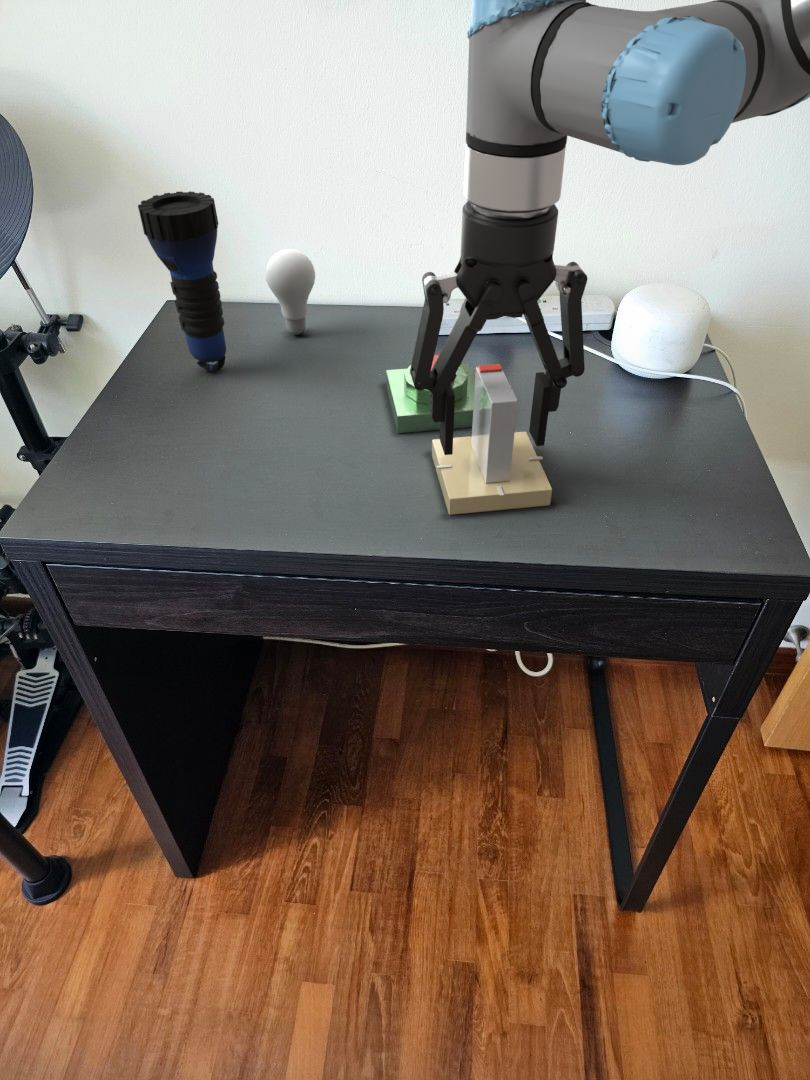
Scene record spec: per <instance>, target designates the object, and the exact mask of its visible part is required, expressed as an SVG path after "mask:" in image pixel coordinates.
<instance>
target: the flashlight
mask: <svg viewBox="0 0 810 1080" xmlns="http://www.w3.org/2000/svg"><path fill="white" fill-rule="evenodd" d="M137 208H138V212H139V216H140V222H141V225H142V231H143V234H144V235H145V236H146V238H147V240H148V243H149V245H150V246H151V248H152V250H153V251H154V253H155V255H156V256H157V258H158V259H159V260H160V261H161V263H162V264H163V265H164V266H165V267H166V269H167V270H168V271H169V273H170V274H169V275H170V278H171V281H170V282H169V283H170V286H171V291H172V292H171V293H172V294H173V295H174V296H175V299H174V304H175V309H176V312H177V313H178V314H179V316H178V321H179V326H180V328H181V330H182V331H183V332H184V336H185V340H186V343H187V347H188V351H189V353H190V355H191V356H192V358H194V359H195V360H197V362H196V364H197V365H198V366H199V367H200V368H201V369H203V370H205V371H208V372H218V371H220V370H222V369H223V367H224V366H225V363H226V353H227V345H226V344H227V343H226V338H225V333H224V331H225V330H224V326H225V318H224V317H223V315H224V311H223V303H222V300H221V292H220V290H219V289H220V285H219V282H218V280H217V279H218V273H217V272H216V271H215V270H214V264H213V263H214V258H215V251H216V247H217V240H218V228H219V219H218V214H217V208H216V202H215V198H214V197H213V196H211V194H205V193H204V192H195V191H190V190H189V191H186V192H185V191H176V192H171V193H170V192H165V193H163V194H161V195H158V194H155V195H152V197H150V198H148V199H146V200H144V199H143V200H141V201H140V204H138V205H137ZM210 363H214V364H210Z"/></svg>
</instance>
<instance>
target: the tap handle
mask: <svg viewBox="0 0 810 1080" xmlns="http://www.w3.org/2000/svg"><path fill="white" fill-rule="evenodd" d="M474 375H475V391H474V408H473V424H472V427H471V436H472V441H471V446H472V448H473V451H474V454H475V456H476V459H477V462H478V464H479V467H480V470H481V472H482V475H483V477H484V480H485V483H494V482H504V481H510V472H511V463H512V453H513V443H514V433H515V432H516V422H517V413H518V403H519V401H518V398H517V396H516V394H515V393H514V392H515V391H514V390H513V387H512V386H511V384H510V382H509V380H508V378H507V376H506V374H505V372H504V370H503V368H502V366H501V364H500V363H495V364H494V363H493V364H483V365H482V364H480V365H479V364H478V365H477V366H476V367H475V373H474Z"/></svg>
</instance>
